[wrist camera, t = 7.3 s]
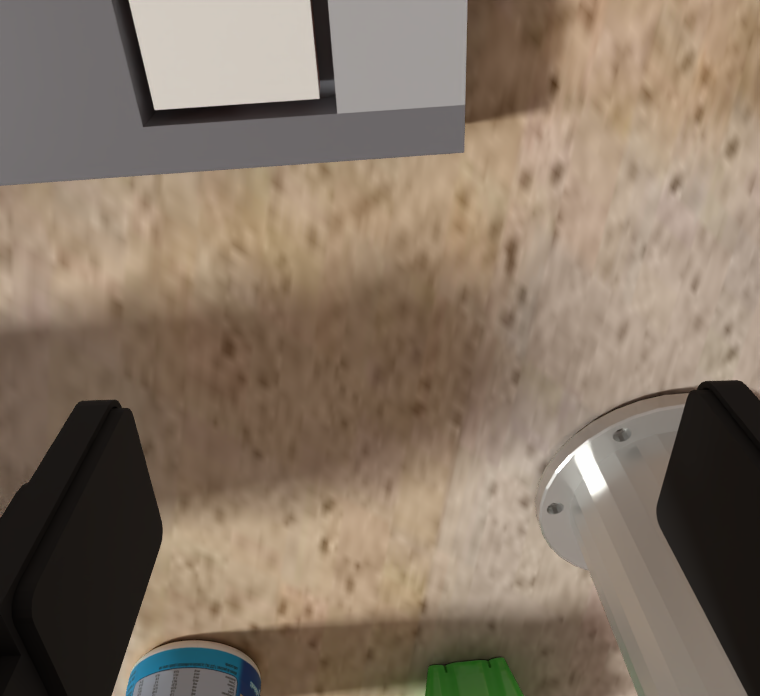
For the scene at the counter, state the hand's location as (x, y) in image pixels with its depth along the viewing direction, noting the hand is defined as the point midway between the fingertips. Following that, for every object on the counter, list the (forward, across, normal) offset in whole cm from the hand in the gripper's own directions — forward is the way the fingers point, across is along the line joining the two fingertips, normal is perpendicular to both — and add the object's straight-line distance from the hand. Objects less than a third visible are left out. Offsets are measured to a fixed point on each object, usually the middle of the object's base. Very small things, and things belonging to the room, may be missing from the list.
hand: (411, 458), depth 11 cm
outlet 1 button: (+14, +5, -6) cm, 16 cm away
